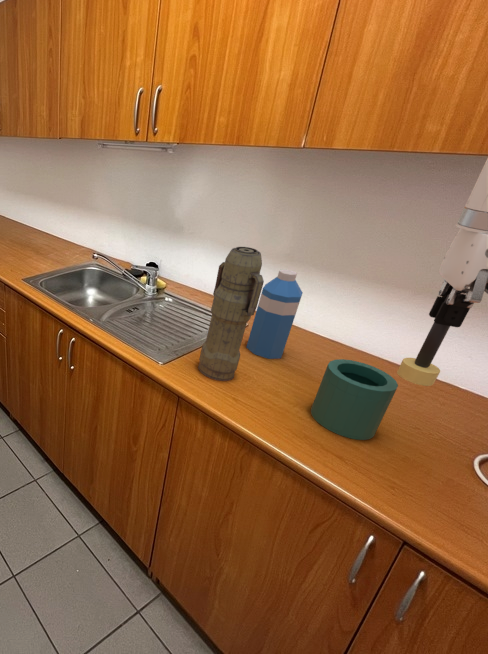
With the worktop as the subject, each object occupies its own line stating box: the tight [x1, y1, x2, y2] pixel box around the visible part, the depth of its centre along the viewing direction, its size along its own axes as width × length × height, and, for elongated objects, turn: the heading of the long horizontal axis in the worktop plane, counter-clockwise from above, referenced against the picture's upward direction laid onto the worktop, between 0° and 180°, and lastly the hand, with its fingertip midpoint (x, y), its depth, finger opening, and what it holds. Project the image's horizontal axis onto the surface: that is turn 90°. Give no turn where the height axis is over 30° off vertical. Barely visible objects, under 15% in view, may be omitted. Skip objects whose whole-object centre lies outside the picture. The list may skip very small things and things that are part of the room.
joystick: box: [396, 294, 460, 387], centre depth 72 cm, size 5×5×18 cm
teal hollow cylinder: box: [310, 358, 399, 441], centre depth 87 cm, size 11×11×13 cm
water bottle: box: [245, 268, 303, 360], centre depth 112 cm, size 9×9×25 cm
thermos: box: [197, 246, 265, 382], centre depth 101 cm, size 9×12×35 cm
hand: (443, 320), depth 71 cm, fingers closed on joystick
